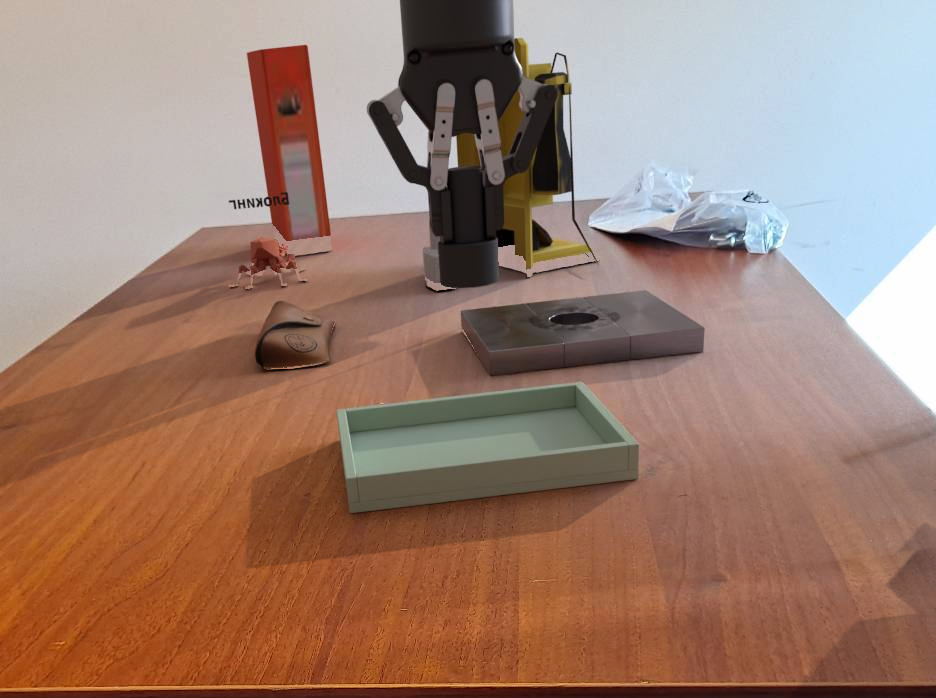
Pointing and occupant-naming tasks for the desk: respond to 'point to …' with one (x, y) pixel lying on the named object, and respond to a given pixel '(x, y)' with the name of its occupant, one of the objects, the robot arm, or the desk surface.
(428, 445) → the tray
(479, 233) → the plug
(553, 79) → the vintage telephone
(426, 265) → the padlock
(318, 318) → the sunglasses case
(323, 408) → the desk surface
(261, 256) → the beetle
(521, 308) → the plate
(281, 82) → the file binder
